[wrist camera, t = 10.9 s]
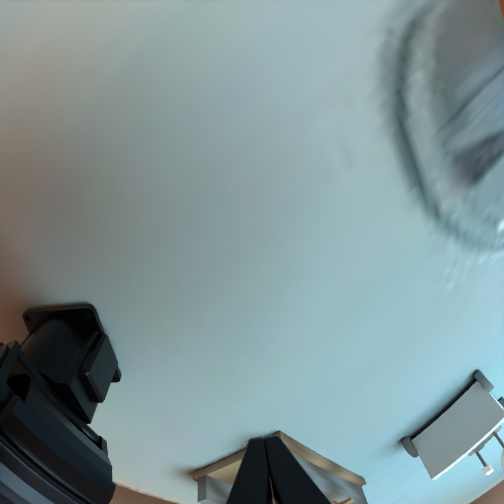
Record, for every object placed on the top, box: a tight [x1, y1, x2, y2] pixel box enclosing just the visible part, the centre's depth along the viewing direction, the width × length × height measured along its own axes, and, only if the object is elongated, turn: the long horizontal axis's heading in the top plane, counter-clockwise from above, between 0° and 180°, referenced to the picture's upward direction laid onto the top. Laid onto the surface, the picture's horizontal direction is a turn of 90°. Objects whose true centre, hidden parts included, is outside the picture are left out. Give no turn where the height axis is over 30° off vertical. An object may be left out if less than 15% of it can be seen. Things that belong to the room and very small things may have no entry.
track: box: [193, 431, 368, 504], centre depth 26 cm, size 18×11×4 cm, turn 40°
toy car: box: [402, 370, 504, 480], centre depth 25 cm, size 18×10×12 cm
